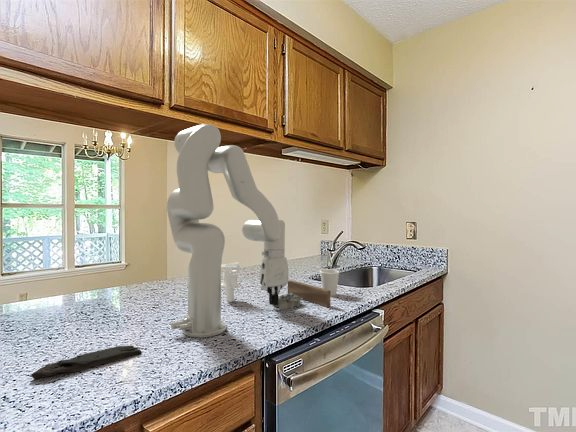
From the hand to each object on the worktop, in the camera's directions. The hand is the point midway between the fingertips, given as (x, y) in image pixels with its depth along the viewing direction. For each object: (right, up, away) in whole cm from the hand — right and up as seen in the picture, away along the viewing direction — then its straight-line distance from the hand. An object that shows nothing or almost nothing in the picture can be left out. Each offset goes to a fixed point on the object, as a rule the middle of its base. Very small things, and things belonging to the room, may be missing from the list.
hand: (273, 304), depth 118 cm
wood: (-41, -3, -42) cm, 59 cm away
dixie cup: (+23, -2, +21) cm, 31 cm away
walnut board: (+13, -2, +11) cm, 17 cm away
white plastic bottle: (-18, -2, +10) cm, 20 cm away
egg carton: (+5, -2, +5) cm, 7 cm away
